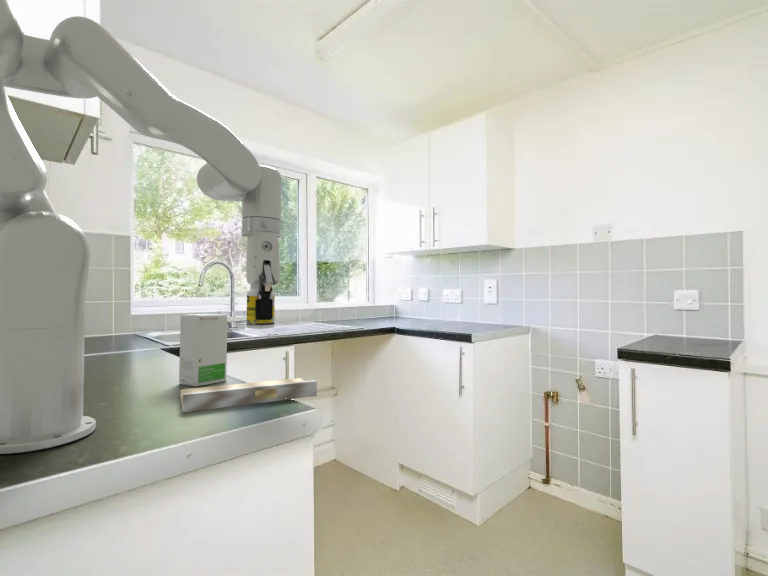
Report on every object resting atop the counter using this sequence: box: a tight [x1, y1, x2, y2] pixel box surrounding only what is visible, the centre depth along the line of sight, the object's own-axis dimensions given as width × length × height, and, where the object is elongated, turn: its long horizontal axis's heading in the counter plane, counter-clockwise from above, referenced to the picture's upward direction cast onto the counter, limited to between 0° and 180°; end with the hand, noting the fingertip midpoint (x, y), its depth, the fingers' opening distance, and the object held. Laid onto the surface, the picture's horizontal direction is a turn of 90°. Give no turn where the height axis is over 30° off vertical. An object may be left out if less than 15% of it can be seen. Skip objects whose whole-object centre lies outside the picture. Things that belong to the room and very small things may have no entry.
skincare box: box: [178, 313, 229, 388], centre depth 91 cm, size 8×7×16 cm
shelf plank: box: [179, 377, 318, 413], centre depth 79 cm, size 24×11×3 cm, turn 119°
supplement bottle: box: [246, 281, 276, 330], centre depth 80 cm, size 5×5×10 cm
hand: (260, 317), depth 80 cm, fingers closed on supplement bottle, 5 cm apart
